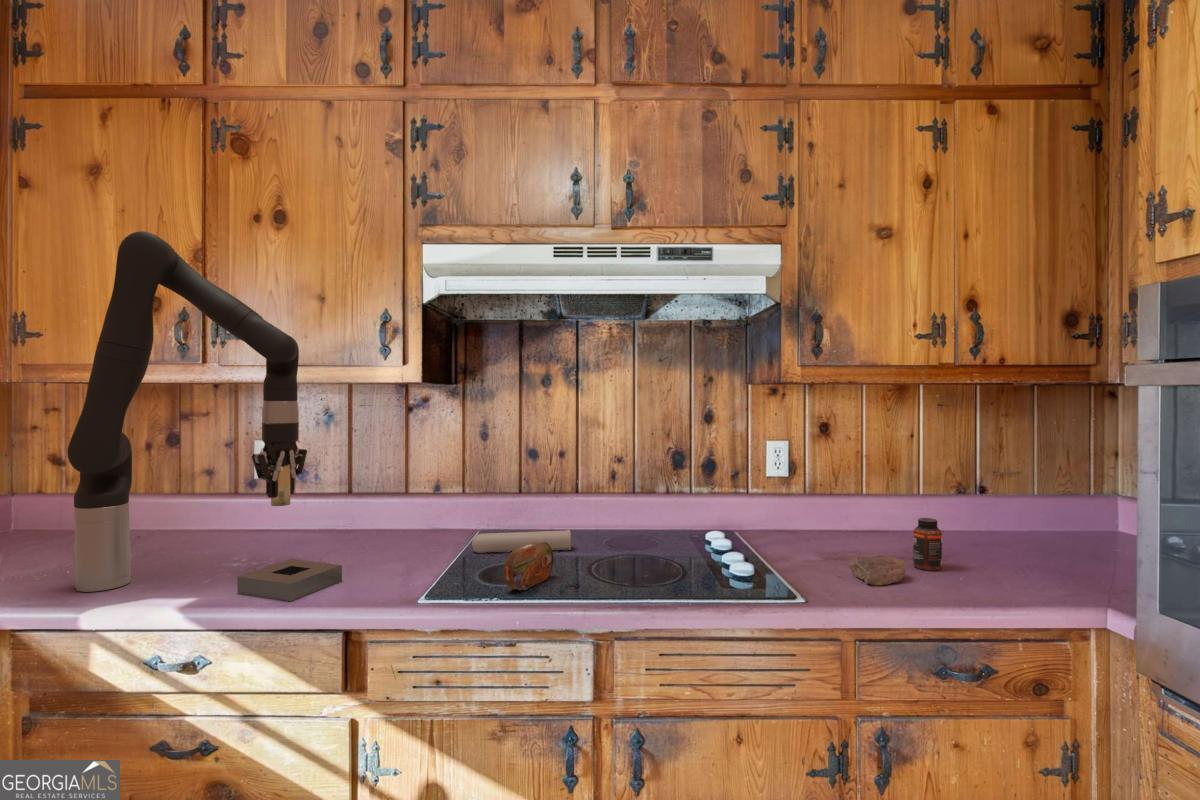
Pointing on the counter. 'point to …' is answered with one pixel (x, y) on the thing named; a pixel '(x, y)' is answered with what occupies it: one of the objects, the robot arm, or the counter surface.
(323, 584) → the block
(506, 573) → the tin
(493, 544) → the tube
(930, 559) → the supplement bottle
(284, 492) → the pipe stub
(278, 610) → the counter surface
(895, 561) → the rock
